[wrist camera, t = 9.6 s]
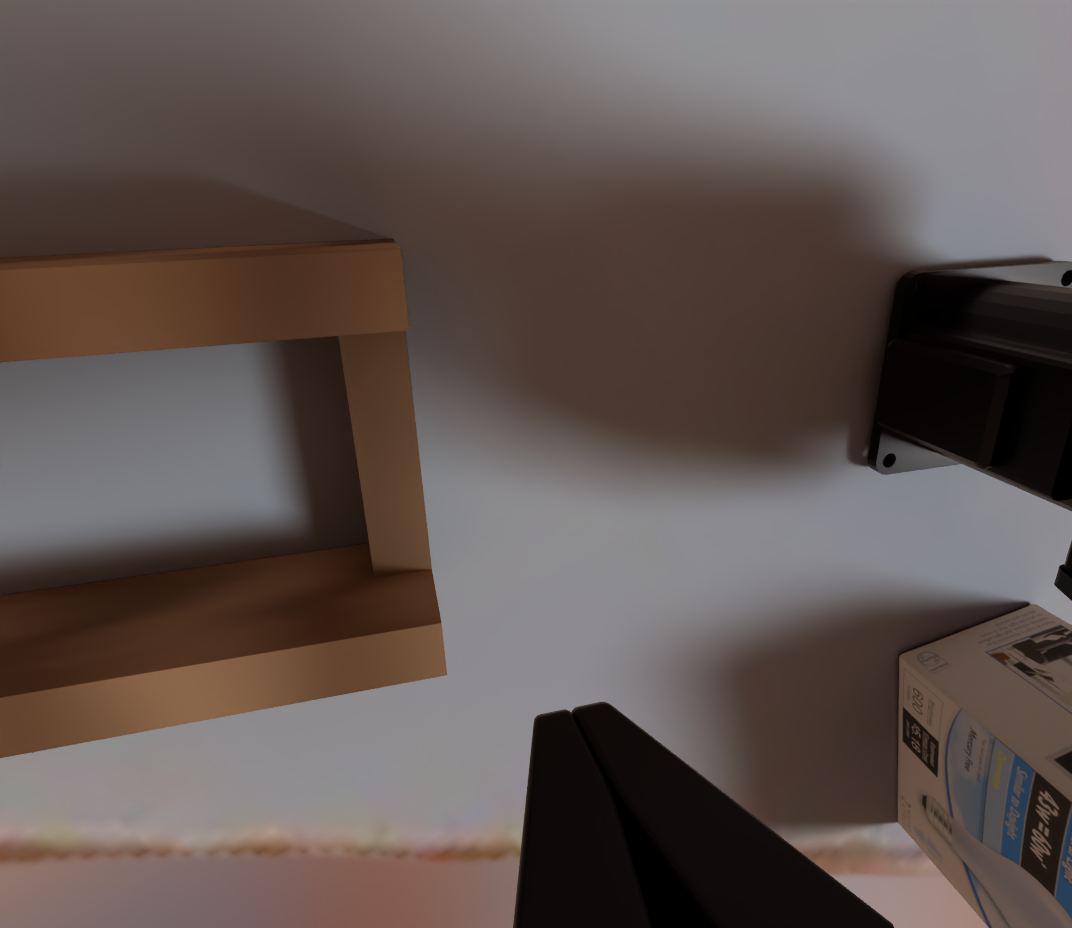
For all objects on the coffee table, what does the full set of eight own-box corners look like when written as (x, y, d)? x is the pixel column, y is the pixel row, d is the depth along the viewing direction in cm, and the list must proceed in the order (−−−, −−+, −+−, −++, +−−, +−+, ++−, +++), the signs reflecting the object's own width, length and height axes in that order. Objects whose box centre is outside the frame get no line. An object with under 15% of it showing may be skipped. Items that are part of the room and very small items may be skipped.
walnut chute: (392, 238, 16) (400, 249, 12) (430, 579, 20) (446, 675, 16) (-561, 285, 13) (-1004, 323, 9) (-299, 692, 16) (-523, 855, 12)
